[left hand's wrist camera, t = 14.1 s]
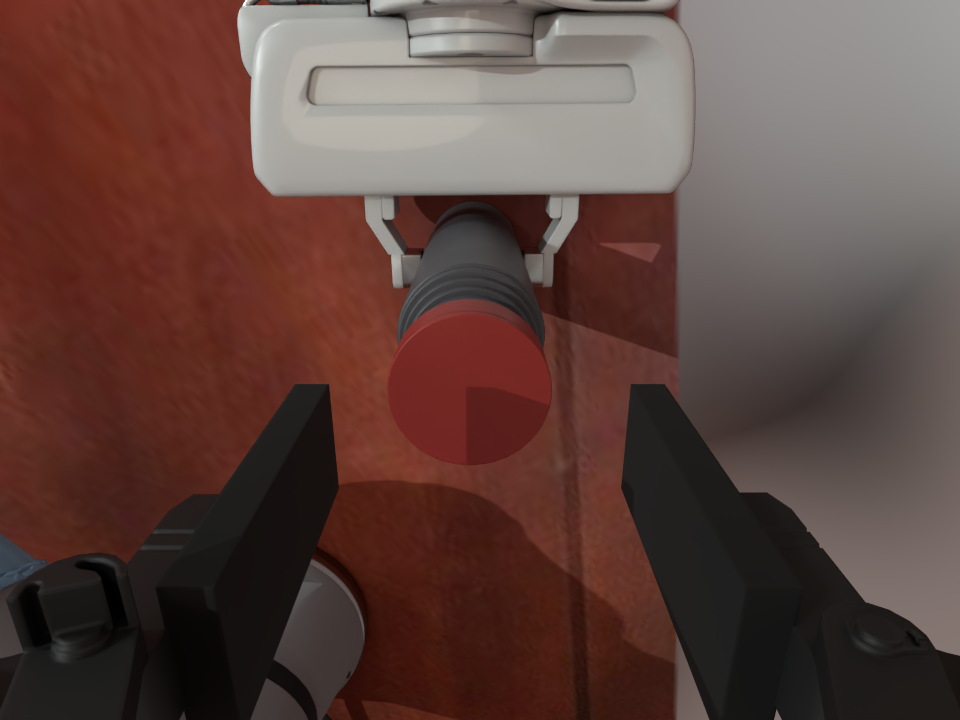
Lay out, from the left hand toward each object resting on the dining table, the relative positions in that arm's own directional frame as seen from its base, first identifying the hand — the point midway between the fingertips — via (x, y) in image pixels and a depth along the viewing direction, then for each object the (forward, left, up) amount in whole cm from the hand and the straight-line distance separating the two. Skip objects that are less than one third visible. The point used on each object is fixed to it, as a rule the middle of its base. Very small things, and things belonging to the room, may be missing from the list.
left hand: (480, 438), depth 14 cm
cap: (0, 0, -3) cm, 3 cm away
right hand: (-1, +1, -19) cm, 19 cm away
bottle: (0, 0, -25) cm, 25 cm away
